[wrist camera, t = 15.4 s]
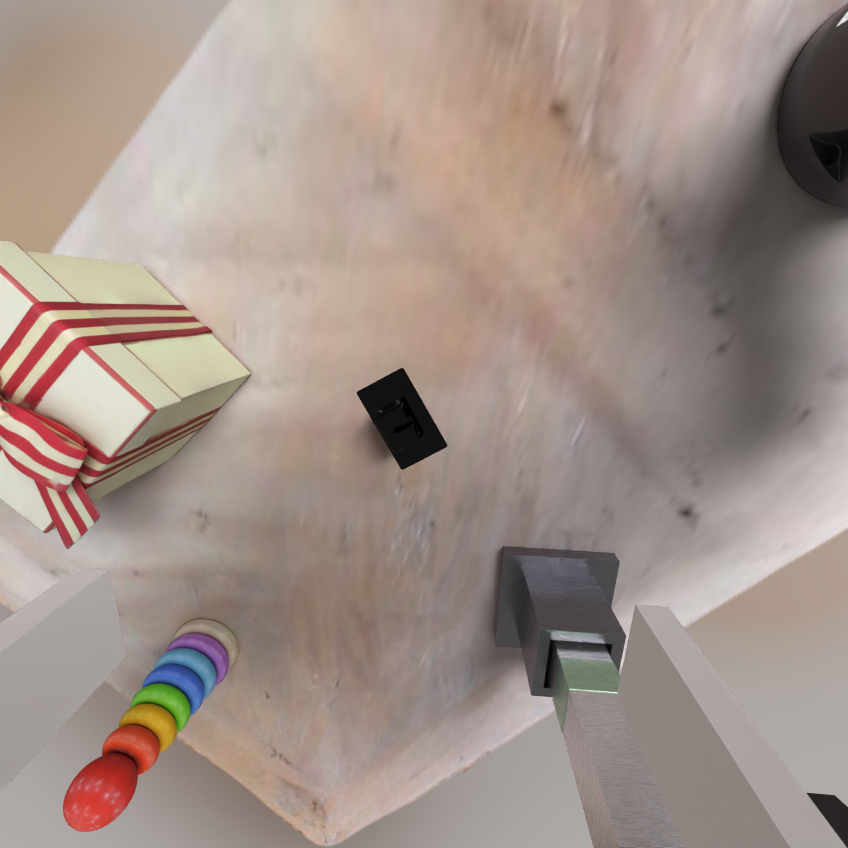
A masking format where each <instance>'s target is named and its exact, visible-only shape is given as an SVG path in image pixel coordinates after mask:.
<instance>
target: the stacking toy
mask: <svg viewBox="0 0 848 848" xmlns="http://www.w3.org/2000/svg"><path fill="white" fill-rule="evenodd" d="M238 653H239V647H238V642H237V640H236V638H235V636H234V635H233V633H232V632H231V631H230V630H229V629H228V628H227V627H225V626H224V625H222V624H220V623H218V622H216V621H213V620H208V619H197V620H193V621H190V622H188V623H186V624H184V625H183V626H182V627H181V628H180V629H179V630H178V631H177V632H176V634H175V636H174V638H173V641H172V642H171V644H170V645H169V646H168V648H167V650H166V652H165V654H164V655H162V656H161V657H160V658H159V659H158V661H157V662H156V664H155V666H154V669H153V671H152V672H151V673H150V674H149V675H148V676H147V677H146V679H145V681H144V683H143V687H142V689H141V690H140V691H139V692H138V693H137V694H136V695H135V696H134V698H133V700H132V702H131V705H130V709H129V710H128V711H127V712H126V713H125V714H124V715H123V717H122V718H121V720H120V723H119V728H118V729H116V730H115V731H113V732H112V733H111V734H110V735H109V736H108V738H107V739H106V741H105V743H104V745H103V748H102V756H101V757H100V758H97V759H95V760H94V761H92V762H91V763H90V764H88V765H87V766H86V767H84V768H83V769H82V770H81V771H80V772H79V773H78V775H77V776H76V777H75V778H74V780H73V781H72V783H71V785H70V786H69V788H68V790H67V793H66V795H65V798H64V803H63V813H64V817H65V820H66V822H67V823H68V825H69V826H70V827H72V828H73V829H75V830H77V831H82V832H89V831H94V830H97V829H100V828H102V827H104V826H106V825H108V824H109V823H111V822H112V821H113V820H115V819H116V818H117V817H118V816H119V815H120V814H121V813H122V812H123V810H124V809H125V808H126V807H127V805H128V803H129V802H130V800H131V799H132V796H133V794H134V792H135V788H136V785H137V779H138V775H140V774H142V773H144V772H146V771H147V770H149V769H150V768H151V767H152V766H153V765H154V763H155V762H156V760H157V758H158V755H159V753H160V752H162V751H164V750H166V749H167V748H168V747H169V746H170V745H171V743H173V741H174V739H175V737H176V734H177V733H178V732H179V731H180V730H181V729H183V728H184V726H185V725H186V724H187V722H188V720H189V717H190V716H191V715H192V714H193V713H195V712H196V711H197V710H198V708H199V707H200V706H201V704H202V702H203V699H205V698H206V697H207V696H208V695H209V694H210V693H211V692H212V690H213V688H214V686H216V685H218V684H219V683H220V682H221V681H222V680H223V679H224V678H225V676H226V674H227V672H228V670H229V669H230V668H231V667H232V666H233V665H234V664H235V662H236V660H237V657H238Z"/></svg>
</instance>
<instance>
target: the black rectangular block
mask: <svg viewBox="0 0 848 848" xmlns="http://www.w3.org/2000/svg"><path fill="white" fill-rule="evenodd" d="M357 395H358V397H359V398H360V400H361V402H362V403H363V405H364V407H365V408H366V410H367V412H368V414H369V415H370V417H371V419H372V420H373V422H374V424H375V425H376V427H377V429H378V431H379V432H380V434H381V436H382V437H383V439H384V441H385V442H386V444H387V446H388V448H389V449H390V451H391V453H392V454H393V456H394V458H395V460H396V461H397V463H398V465H399V466H400V468H401V469H402V470H403V469H405V468H407V467H409V466H411V465H413V464H415V463H417V462H419V461H421V460H423V459H424V458H426V457H428V456H430V455H432V454H434V453H436V452H438V451H440V450H442V449H444V448H446V447H447V444H446V442H445V440H444V438H443V437H442V435H441V433H440V431H439V430H438V428H437V426H436V424H435V423H434V421H433V419H432V417H431V416H430V414H429V412H428V410H427V409H426V407H425V405H424V403H423V402H422V400H421V398H420V396H419V395H418V393H417V391H416V389H415V388H414V386H413V384H412V382H411V381H410V379H409V377H408V375H407V374H406V372H405V370H404V369H403V368H400V369H399V370H397V371H395V372H393V373H391V374H389V375H387V376H386V377H384V378H382V379H380V380H378V381H376V382H374V383H373V384H371V385H369V386H367V387H365V388H363V389H361V390H359V391H358V392H357Z"/></svg>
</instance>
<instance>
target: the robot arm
mask: <svg viewBox="0 0 848 848" xmlns="http://www.w3.org/2000/svg"><path fill="white" fill-rule="evenodd" d="M778 135H779V143H780V148H781V153H782V156H783V159H784V161H785V164H786V166H787V168H788V170H789V172H790V173H791V175H792V176H793V178H794V179H795V180H796V182H797V183H798V184H799V185H800V186H801V187H802V188H803V189H804V190H806V191H807V192H808V193H810V194H811V195H813V196H815V197H816V198H818V199H821V200H823V201H825V202H828V203H832V204H836V205H843V206H848V3H847V4H846V5H845V6H843V7H842V8H841V9H839V10H838V11H837V12H836V13H834V14H833V15H832V16H831V17H830V18H829V19H828V20H827V21H826V22H825V23H824V24H823V25H822V26H821V27H820V28H819V29H818V30H817V32H816V33H815V34H814V35H813V36H812V38H811V39H810V40H809V41H808V43H807V44H806V46H805V47H804V49H803V50H802V52H801V53H800V55H799V57H798V58H797V60H796V62H795V64H794V66H793V68H792V70H791V72H790V75H789V77H788V80H787V82H786V85H785V88H784V91H783V95H782V99H781V104H780V109H779V118H778ZM126 657H127V656H126V651H125V646H124V641H123V636H122V631H121V626H120V621H119V616H118V611H117V606H116V601H115V597H114V592H113V587H112V582H111V577H110V572H109V569H94V568H79V569H77V570H76V571H75V572H73V573H72V574H70V575H69V576H67V577H66V578H64V579H63V580H62V581H60V582H59V583H57V584H56V585H54V586H53V587H52V588H50V589H49V590H47V591H46V592H44V593H43V594H42V595H40V596H39V597H37V598H36V599H34V600H33V601H32V602H30V603H29V604H27V605H26V606H24V607H23V608H22V609H20V610H19V611H17V612H16V613H14V614H13V615H11V616H10V617H9V618H7V619H6V620H4V621H3V622H1V623H0V793H1V792H2V791H3V790H4V788H5V787H6V786H7V785H8V784H9V783H10V782H11V781H12V780H13V779H14V778H15V776H16V775H17V774H18V773H19V772H20V771H21V770H22V769H23V768H24V767H25V766H26V765H27V764H28V763H29V762H30V760H31V759H32V758H33V757H34V756H35V755H36V754H37V753H38V752H39V751H40V750H41V749H42V748H43V746H44V745H45V744H46V743H47V742H48V741H49V740H50V739H51V738H52V737H53V736H54V735H55V733H56V732H57V731H58V730H59V729H60V728H61V727H62V726H63V725H64V724H65V723H66V722H67V721H68V719H70V717H71V716H72V715H73V714H74V713H75V712H76V711H77V710H78V709H79V708H80V707H81V706H82V704H83V703H84V702H85V701H86V700H87V699H88V698H89V697H90V696H91V695H92V694H93V693H94V692H95V691H96V689H97V688H98V687H99V686H100V685H101V684H102V683H103V682H104V681H105V680H106V679H107V678H108V677H109V675H110V674H111V673H112V672H113V671H114V670H115V669H116V668H117V667H118V666H119V665H120V664H121V663H122V661H123V660H124V659H125V658H126ZM617 696H618V698H619V701H620V703H621V705H622V707H623V710H624V712H625V714H626V717H627V719H628V721H629V723H630V726H631V728H632V730H633V733H634V735H635V737H636V739H637V742H638V744H639V746H640V748H641V751H642V753H643V755H644V758H645V760H646V762H647V764H648V767H649V769H650V771H651V774H652V776H653V778H654V780H655V783H656V785H657V787H658V790H659V792H660V794H661V796H662V799H663V801H664V803H665V805H666V808H667V810H668V812H669V815H670V817H671V819H672V821H673V824H674V826H675V828H676V831H677V833H678V835H679V837H680V840H681V842H682V844H683V847H684V848H848V807H847V806H846V805H845V804H843V803H842V802H841V801H840V800H839V799H838V798H837V797H836V796H834V795H825V794H814V793H806V792H805V791H804V789H803V788H802V787H801V786H800V784H799V783H798V781H797V780H796V778H795V777H794V776H793V774H792V773H791V772H790V770H789V769H788V768H787V766H786V765H785V764H784V762H783V761H782V760H781V758H780V757H779V756H778V754H777V753H776V752H775V750H774V749H773V747H772V746H771V745H770V744H769V742H768V741H767V740H766V738H765V737H764V735H763V734H762V733H761V731H760V730H759V729H758V727H757V726H756V725H755V723H754V722H753V721H752V719H751V718H750V717H749V715H748V714H747V712H746V711H745V710H744V708H743V707H742V706H741V704H740V703H739V702H738V700H737V699H736V698H735V696H734V695H733V694H732V692H731V691H730V690H729V688H728V687H727V685H726V684H725V683H724V682H723V680H722V679H721V678H720V676H719V675H718V673H717V672H716V671H715V669H714V668H713V667H712V665H711V664H710V663H709V661H708V660H707V659H706V657H705V656H704V654H703V653H702V652H701V651H700V649H699V648H698V646H697V645H696V644H695V642H694V641H693V640H692V638H691V637H690V636H689V634H688V633H687V632H686V630H685V629H684V628H683V626H682V625H681V623H680V622H679V621H678V619H677V618H676V617H675V615H674V614H673V613H672V611H671V610H670V609H669V607H659V606H645V605H635V610H634V615H633V620H632V625H631V630H630V634H629V639H628V644H627V649H626V654H625V659H624V663H623V668H622V673H621V678H620V683H619V688H618V692H617Z"/></svg>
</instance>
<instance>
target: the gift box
mask: <svg viewBox="0 0 848 848" xmlns="http://www.w3.org/2000/svg"><path fill="white" fill-rule="evenodd" d="M250 374H251V371H250V370H249V369H248V368H246V367H245V366H244V365H243V364H242V363H241V362H240V361H239V360H238V359H237V358H236V357H235V356H234V355H233V354H232V353H231V352H230V351H229V350H228V349H227V348H226V347H225V346H224V345H223V344H222V343H221V342H220V341H219V340H218V339H217V338H216V337H215V336H214V335H213V334H212V330H211V329H209V328H208V327H207V326H205V325H204V324H202V323H201V322H199V321H198V320H197V319H196V318H195V317H194V316H193V315H192V314H191V312H190V311H189V310H188V309H187V308H186V307H185V306H184V305H182V304H181V303H180V302H179V301H178V300H177V299H176V298H175V297H174V296H173V295H172V294H171V293H170V292H169V291H168V290H167V289H166V288H165V287H164V286H163V285H162V284H161V283H160V282H159V281H158V280H157V279H156V278H155V277H154V276H153V275H152V274H150V273H149V272H148V271H147V270H146V269H145V268H144V267H143V266H142V265H139V264H132V263H123V262H116V261H106V260H98V259H89V258H81V257H72V256H63V255H54V254H45V253H36V252H28V251H24V250H23V249H22V248H21V247H20V246H19V245H18V244H16V243H13V242H5V241H0V499H2V500H3V501H4V502H5V503H7V504H8V505H9V506H10V507H12V508H13V509H14V510H15V511H17V512H18V513H19V514H20V515H22V516H23V517H24V518H25V519H27V520H28V521H29V522H30V523H32V524H33V525H34V526H35V527H37V528H38V529H39V530H41V531H42V532H44V533H47V532H49V531H51V530H53V529H54V528H57V530H58V532H59V534H60V536H61V539H62V541H63V543H64V545H65V547H66V548H67V549H69V548H70V547H71V546H72V545H73V544H75V542H76V541H77V540H78V539H79V538H81V537H82V536H83V535H84V533H85V532H86V531H87V530H88V529H90V528H91V527H92V526H93V525H94V524H95V522H96V521H97V520H98V518H99V517H100V514H99V511H98V509H97V508H96V506H95V505H94V503H93V502H94V501H96V500H97V499H99V498H101V497H103V496H104V495H106V494H108V493H110V492H111V491H113V490H115V489H117V488H119V487H120V486H122V485H124V484H126V483H128V482H129V481H131V480H133V479H135V478H137V477H139V476H140V475H142V474H144V473H146V472H148V471H149V470H151V469H153V468H155V467H157V466H159V465H161V464H163V463H164V462H166V461H168V460H170V459H171V458H172V457H173V456H174V455H175V454H176V453H177V452H178V451H179V450H180V449H181V448H182V447H183V446H184V445H185V444H186V443H187V442H188V441H189V440H190V439H191V438H192V437H193V435H194V434H195V433H196V432H197V431H198V430H199V429H200V428H202V427H203V426H204V425H205V424H206V423H207V422H208V421H209V420H210V419H211V418H212V416H213V415H214V414H215V413H216V412H217V411H218V410H219V409H220V408H221V406H222V405H223V404H224V403H225V402H226V401H227V400H228V399H229V398H230V396H231V395H232V394H233V393H234V392H235V391H236V390H237V389H238V388H239V387H240V386H241V385H242V383H243V382H244V381H245V380H246V379H247V378H248V377H249V376H250Z"/></svg>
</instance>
